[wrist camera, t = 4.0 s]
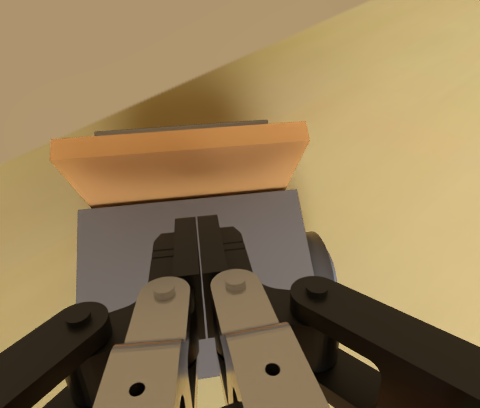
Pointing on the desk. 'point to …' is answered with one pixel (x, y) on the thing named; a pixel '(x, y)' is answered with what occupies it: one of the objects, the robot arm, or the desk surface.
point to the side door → (180, 161)
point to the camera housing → (163, 221)
